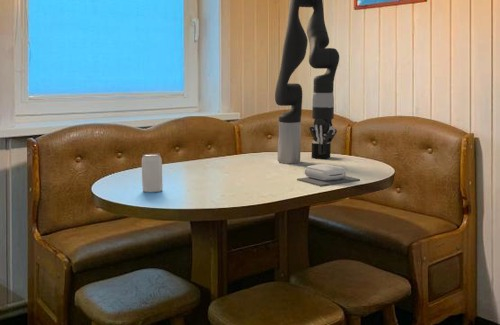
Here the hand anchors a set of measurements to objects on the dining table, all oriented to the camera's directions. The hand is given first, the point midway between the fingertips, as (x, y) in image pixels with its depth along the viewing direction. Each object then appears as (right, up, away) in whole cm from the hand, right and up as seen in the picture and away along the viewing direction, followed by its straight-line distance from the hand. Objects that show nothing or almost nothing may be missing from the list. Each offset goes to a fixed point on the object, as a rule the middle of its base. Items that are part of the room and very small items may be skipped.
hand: (322, 154), depth 197 cm
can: (-58, -13, -17) cm, 62 cm away
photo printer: (-2, -6, +5) cm, 8 cm away
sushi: (+6, -1, +50) cm, 50 cm away
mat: (+2, -9, -1) cm, 10 cm away
